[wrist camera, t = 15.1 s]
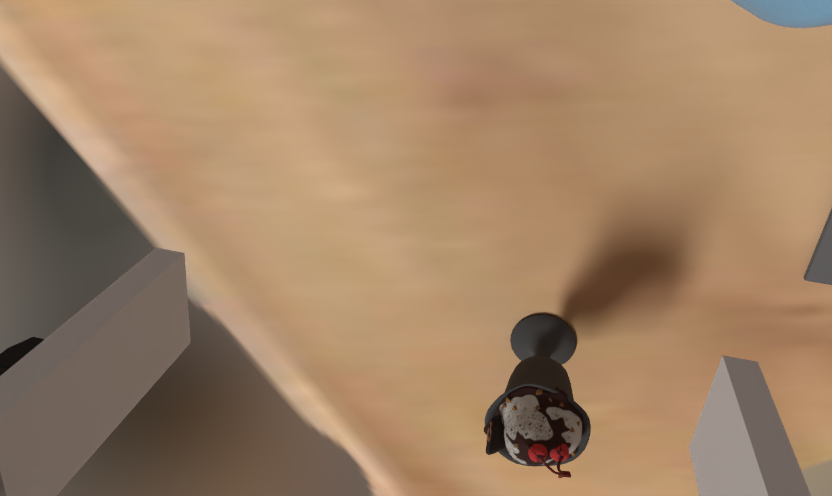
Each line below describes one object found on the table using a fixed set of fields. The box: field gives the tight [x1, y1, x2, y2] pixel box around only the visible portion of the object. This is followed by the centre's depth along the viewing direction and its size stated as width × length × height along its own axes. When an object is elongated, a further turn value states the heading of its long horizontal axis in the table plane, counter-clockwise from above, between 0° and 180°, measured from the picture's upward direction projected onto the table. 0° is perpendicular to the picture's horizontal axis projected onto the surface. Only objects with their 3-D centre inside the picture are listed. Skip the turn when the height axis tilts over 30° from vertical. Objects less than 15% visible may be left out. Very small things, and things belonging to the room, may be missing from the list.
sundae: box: [484, 314, 591, 478], centre depth 47 cm, size 7×7×15 cm
